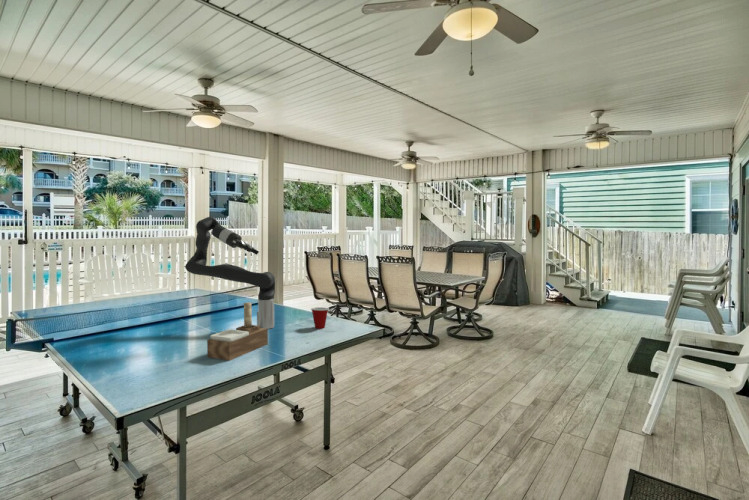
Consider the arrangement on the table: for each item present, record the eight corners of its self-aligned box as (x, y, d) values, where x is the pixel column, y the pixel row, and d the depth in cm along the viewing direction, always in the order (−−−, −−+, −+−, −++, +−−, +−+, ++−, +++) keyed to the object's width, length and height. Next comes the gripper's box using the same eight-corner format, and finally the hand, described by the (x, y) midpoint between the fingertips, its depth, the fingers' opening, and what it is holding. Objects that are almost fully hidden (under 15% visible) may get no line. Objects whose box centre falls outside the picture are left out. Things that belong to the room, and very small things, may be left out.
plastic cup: (332, 326, 235) (332, 306, 235) (322, 330, 225) (322, 310, 225) (317, 324, 240) (317, 305, 239) (307, 328, 230) (307, 308, 229)
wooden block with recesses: (207, 357, 178) (207, 335, 178) (247, 341, 203) (247, 322, 203) (229, 360, 173) (229, 338, 173) (267, 344, 198) (267, 324, 198)
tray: (210, 339, 179) (210, 335, 179) (229, 332, 190) (229, 329, 190) (230, 342, 175) (230, 338, 175) (248, 335, 186) (248, 331, 186)
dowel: (242, 331, 193) (242, 303, 192) (247, 329, 196) (247, 302, 196) (248, 332, 192) (248, 304, 191) (253, 330, 195) (253, 302, 194)
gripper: (233, 246, 216) (256, 260, 213) (219, 241, 202) (244, 256, 199) (240, 234, 217) (263, 248, 213) (227, 229, 203) (252, 243, 199)
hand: (254, 251), depth 206 cm, fingers open, 8 cm apart
